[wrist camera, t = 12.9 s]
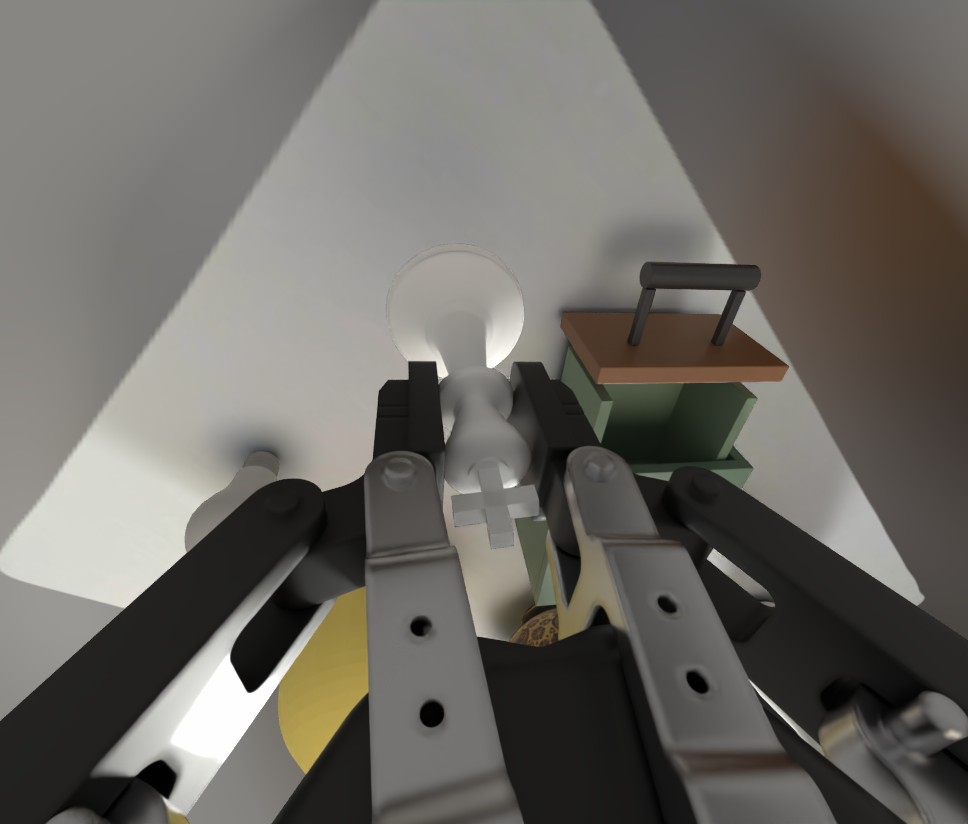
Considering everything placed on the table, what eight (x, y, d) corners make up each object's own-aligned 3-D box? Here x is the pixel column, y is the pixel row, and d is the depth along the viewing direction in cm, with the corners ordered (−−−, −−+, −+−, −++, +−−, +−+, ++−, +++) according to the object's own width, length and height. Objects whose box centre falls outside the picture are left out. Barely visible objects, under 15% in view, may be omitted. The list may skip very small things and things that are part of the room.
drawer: (576, 236, 29) (623, 279, 23) (748, 243, 31) (834, 284, 25) (534, 461, 41) (557, 530, 35) (661, 455, 43) (705, 520, 37)
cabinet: (535, 394, 38) (569, 476, 30) (685, 392, 40) (754, 468, 32) (514, 519, 47) (536, 606, 39) (636, 511, 49) (680, 592, 41)
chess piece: (373, 250, 14) (333, 460, 7) (523, 236, 15) (654, 420, 7) (398, 377, 17) (391, 627, 10) (522, 363, 18) (613, 593, 10)
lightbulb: (242, 486, 39) (195, 604, 30) (212, 433, 35) (148, 549, 27) (313, 476, 40) (286, 589, 31) (291, 423, 36) (253, 533, 27)
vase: (269, 549, 44) (135, 1022, 22) (407, 483, 42) (412, 945, 19) (367, 616, 54) (341, 994, 32) (485, 565, 51) (547, 940, 29)
